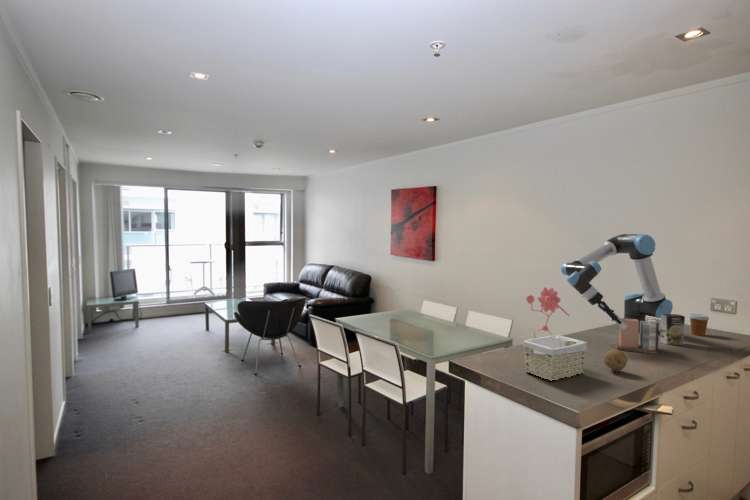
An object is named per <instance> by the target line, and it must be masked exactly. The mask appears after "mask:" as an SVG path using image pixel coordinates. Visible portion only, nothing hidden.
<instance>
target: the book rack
mask: <svg viewBox="0 0 750 500" xmlns="http://www.w3.org/2000/svg"><path fill="white" fill-rule="evenodd" d="M659 325H660V323H659V322H657V321H656V320H655V319H654V317H648V316H646V317H645V321H640V332H639V336H638V348H637V347H626V346H620V344H619V341H613V345H614V347H615V348H616V349H615V350H619V351H621V352H623V351H624V352H632V351H633V352H634V353H635V352H636V353H642V352H643V354H652V355H653V354H654V355H659V332H660V331H659V330H660V329H659V328H660V327H659ZM633 352H632V353H633Z"/></svg>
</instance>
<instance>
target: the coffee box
mask: <svg viewBox="0 0 750 500" xmlns="http://www.w3.org/2000/svg"><path fill="white" fill-rule="evenodd" d="M685 319H686V317H685V316H684V315H681V314H675V313H671V314H661V318H660V329H659V330H660V331H659V332H660V334H659V342H660V343H662V344H664V345H671V346H672V345H673V346H674V345H675V346H678V345H679V346H684V341H685V323H686V322H685Z"/></svg>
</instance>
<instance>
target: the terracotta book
mask: <svg viewBox="0 0 750 500" xmlns="http://www.w3.org/2000/svg"><path fill="white" fill-rule="evenodd" d="M620 319H621V320H622V321H623V322H624V323H625V324H626V325H627V326H628V327H626V328H625V329H624V330H623V329H622V328H621V327H620V326H619V332H618V333H619V335H618V338H619V339H618V342H619V344H620V346H626V347H637V348H638V344H639V334H640V332H639V321H638V320H637V319H624V317H623V318H622V317H620Z"/></svg>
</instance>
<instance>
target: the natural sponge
mask: <svg viewBox="0 0 750 500" xmlns="http://www.w3.org/2000/svg"><path fill="white" fill-rule="evenodd" d="M603 360H604V361H603V362H604V365H606V367H608V368H609V369H610V370H611V371H613V372H615V371H616V372H615V373H619V372H621V371H622V370H623V369H624V368H625V367H626V365H627V363H628V357H627V355H626V354H625V353H624V352H623V351H622V350H617V349H611V350H609V351H607V352H606V353H605V355H604V356H603Z"/></svg>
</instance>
